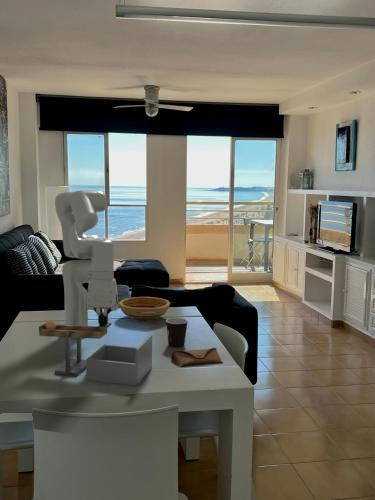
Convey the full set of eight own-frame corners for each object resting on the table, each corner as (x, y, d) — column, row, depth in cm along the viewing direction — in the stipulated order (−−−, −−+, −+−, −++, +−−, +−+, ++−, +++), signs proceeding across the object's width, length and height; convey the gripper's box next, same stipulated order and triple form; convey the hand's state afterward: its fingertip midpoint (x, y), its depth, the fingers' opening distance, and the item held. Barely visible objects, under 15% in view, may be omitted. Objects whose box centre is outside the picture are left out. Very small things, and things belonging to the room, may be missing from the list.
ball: (43, 332, 166) (43, 322, 165) (48, 329, 169) (48, 319, 169) (52, 333, 165) (52, 322, 165) (58, 330, 168) (57, 320, 168)
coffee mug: (184, 349, 189) (185, 324, 188) (163, 347, 191) (163, 323, 190) (190, 340, 201) (191, 317, 199) (170, 338, 202) (170, 315, 201)
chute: (39, 335, 165) (38, 326, 164) (62, 322, 181) (61, 314, 180) (99, 338, 160) (99, 329, 159) (117, 325, 176) (117, 316, 175)
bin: (86, 379, 158) (86, 344, 156) (104, 363, 173) (104, 330, 171) (137, 385, 154) (138, 349, 152) (151, 368, 169) (152, 335, 167)
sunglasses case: (178, 367, 170) (175, 348, 173) (172, 371, 176) (170, 352, 179) (225, 362, 176) (222, 344, 178) (218, 366, 182) (215, 348, 185)
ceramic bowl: (116, 311, 244) (116, 296, 243) (164, 310, 249) (164, 294, 248) (121, 328, 215) (121, 311, 214) (175, 326, 220) (175, 309, 219)
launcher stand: (54, 373, 162) (54, 332, 160) (70, 361, 174) (70, 323, 172) (76, 376, 160) (76, 335, 158) (91, 363, 172) (91, 325, 170)
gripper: (78, 275, 168) (79, 327, 170) (119, 278, 165) (119, 330, 167) (87, 272, 175) (87, 321, 177) (126, 274, 172) (126, 324, 174)
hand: (103, 325), depth 172 cm, fingers closed
